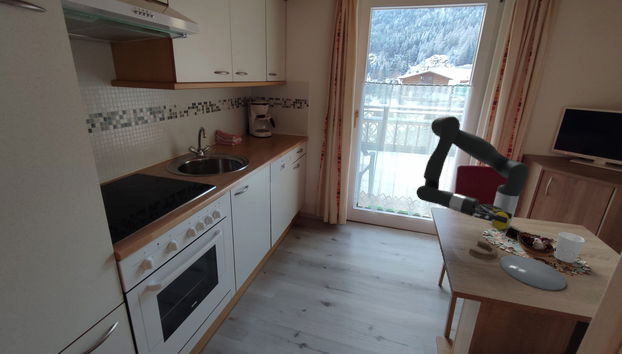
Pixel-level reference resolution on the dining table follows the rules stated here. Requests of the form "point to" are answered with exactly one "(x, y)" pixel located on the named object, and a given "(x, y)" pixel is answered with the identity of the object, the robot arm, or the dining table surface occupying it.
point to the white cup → (568, 247)
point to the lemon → (498, 224)
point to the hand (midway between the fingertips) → (509, 218)
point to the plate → (533, 272)
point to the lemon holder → (484, 254)
